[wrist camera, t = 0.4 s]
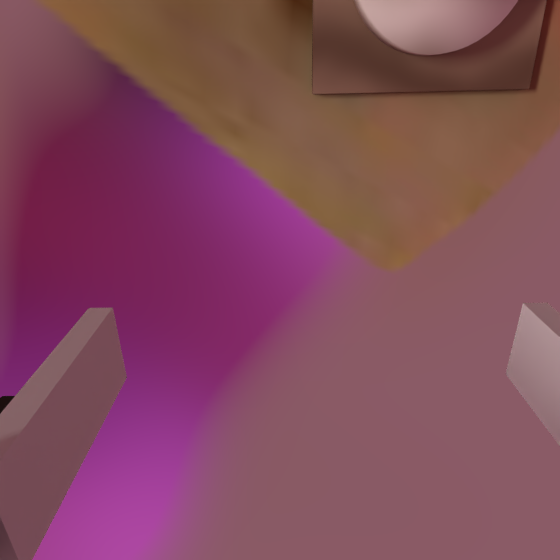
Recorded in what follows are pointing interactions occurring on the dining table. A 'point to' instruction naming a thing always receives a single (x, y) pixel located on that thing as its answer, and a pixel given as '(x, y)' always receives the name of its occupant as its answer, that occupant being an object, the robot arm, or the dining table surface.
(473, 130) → the dining table surface
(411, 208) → the dining table surface
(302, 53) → the dining table surface
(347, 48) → the stand
